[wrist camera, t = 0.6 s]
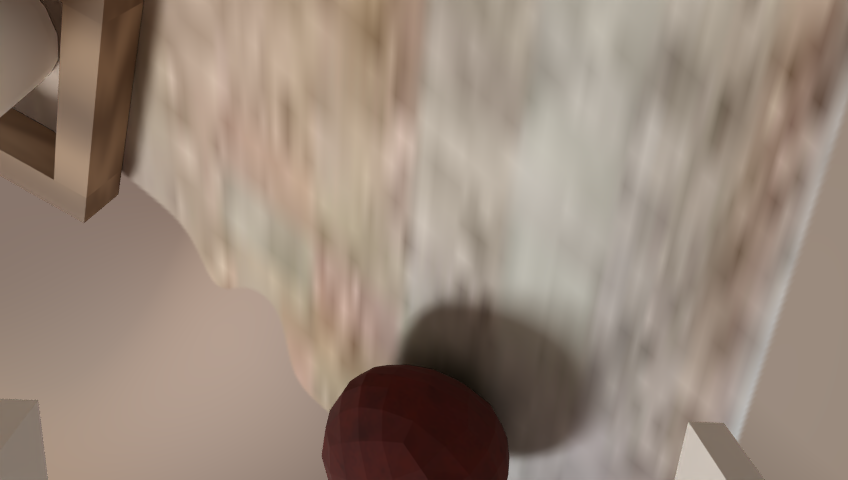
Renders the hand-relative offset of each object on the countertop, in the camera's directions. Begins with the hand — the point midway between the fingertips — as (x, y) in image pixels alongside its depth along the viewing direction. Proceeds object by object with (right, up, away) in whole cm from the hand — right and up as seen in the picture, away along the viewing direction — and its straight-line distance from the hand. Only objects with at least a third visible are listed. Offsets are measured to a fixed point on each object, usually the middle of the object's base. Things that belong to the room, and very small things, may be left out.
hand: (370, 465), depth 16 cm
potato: (+2, -5, +30) cm, 31 cm away
